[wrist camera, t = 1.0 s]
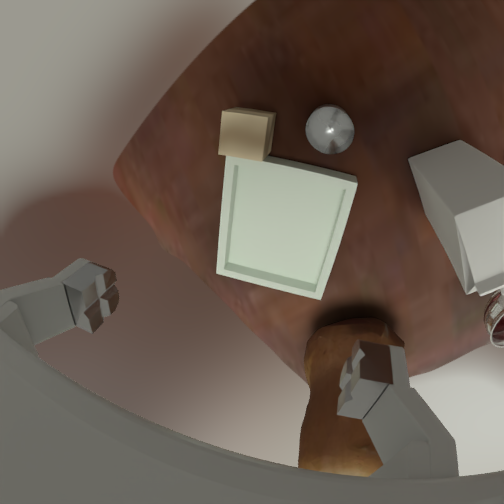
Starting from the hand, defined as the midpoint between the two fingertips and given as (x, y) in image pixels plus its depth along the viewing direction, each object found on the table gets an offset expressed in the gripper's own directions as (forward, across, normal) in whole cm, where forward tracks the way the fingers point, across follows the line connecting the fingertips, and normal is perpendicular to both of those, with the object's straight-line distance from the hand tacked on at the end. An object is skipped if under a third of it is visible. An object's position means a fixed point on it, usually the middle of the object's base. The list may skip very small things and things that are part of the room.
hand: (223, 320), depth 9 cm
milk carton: (+27, -16, -3) cm, 31 cm away
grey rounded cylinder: (+26, -2, -5) cm, 27 cm away
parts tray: (+27, +2, +8) cm, 28 cm away
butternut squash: (+29, -12, +22) cm, 38 cm away
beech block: (+26, +6, -3) cm, 27 cm away
